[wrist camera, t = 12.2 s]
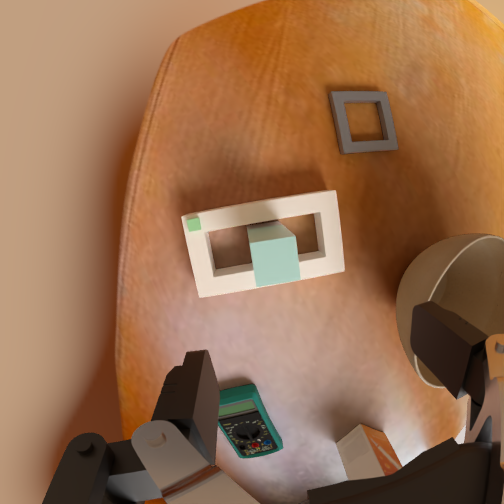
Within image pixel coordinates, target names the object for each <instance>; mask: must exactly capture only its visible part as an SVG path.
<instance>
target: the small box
mask: <svg viewBox="0 0 504 504" xmlns="http://www.w3.org/2000/svg"><path fill="white" fill-rule="evenodd" d="M336 446H337V448H338V451H339V454H340V457H341V459H342V462H343V465H344V468H345V471H346V474H347V476H348V479H349V480H358V479H366V478H374V477H381V476H387V475H391V474H393V473H395V472H396V471H398V470H399V469H401V468H402V465H401V463H400V461H399V459H398V457H397V455H396V453H395V452H394V450H393V448H392V446H391V444H390V442H389V440H388V438H387V437H386V435H385V433H383V432H380V431H377V430H375V429H372V428H370V427H367V426H365V425H363V424H359V425H358V426H357V427H355V428H354V429H353V430H352V431H351V432H349V433H348V434H347V435H346V436H344V437H343V438H342V439H341V440H340V441H338V442H337V443H336Z"/></svg>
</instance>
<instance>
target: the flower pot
mask: <svg viewBox="0 0 504 504" xmlns="http://www.w3.org/2000/svg"><path fill="white" fill-rule="evenodd" d="M428 301H433V302H435V303H436V304H437V305H439V306H440V307H442V308H443V309H446V310H449V311H452V312H454V313H456V314H457V315H459V316H460V317H462V319H465V320H466V321H468V323H471V324H472V325H473V326H475V327H476V328H478V329H479V330H481V331H482V332H483V333H485V334H486V335H488V336H489V337H490V336H492V335H495V334H504V239H503V238H501V237H499V236H495V235H490V234H464V235H458V236H454V237H450V238H447V239H444V240H441V241H439V242H437V243H435V244H433V245H431V246H430V247H428V248H427V249H425V250H424V251H423V252H421V253H420V254H419V255H418V256H417V257H416V258H415V259H414V260H413V261H412V262H411V264H410V265H409V266H408V268H407V269H406V271H405V273H404V275H403V277H402V279H401V282H400V285H399V288H398V292H397V298H396V320H397V327H398V332H399V336H400V340H401V343H402V345H403V348H404V351H405V353H406V355H407V357H408V359H409V361H410V363H411V365H412V366H413V368H414V370H415V371H416V373H417V374H418V375H419V377H420V378H421V379H422V381H424V382H425V383H426V384H427V385H429V386H432V387H435V388H446V387H445V386H444V385H443V384H442V383H441V382H440V381H439V380H438V378H437V377H436V376H435V375H434V374H433V373H432V372H431V371H430V370H429V369H428V368H427V367H426V366H425V364H424V363H423V362H422V361H421V360H420V359H419V358H418V357H417V356H416V355H415V354H414V353H413V351H412V348H411V345H410V335H411V323H412V311H413V308H414V306H415V305H418V304H421V303H424V302H428Z"/></svg>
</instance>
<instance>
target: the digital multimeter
mask: <svg viewBox="0 0 504 504" xmlns="http://www.w3.org/2000/svg"><path fill="white" fill-rule="evenodd" d="M219 392H220V402H219V415H218V426H219V427H220V429H221V430H222V431H223V433H224V434H225V436H226V437H227V439H228V440H229V442H230V443H231V445H232V447H233V448H234V450H235V451H236V453H237V455H238V456H239V457H240V458H253V457H260V456H264V455H268V454H271V453H274V452H277V451H279V450H281V449H283V443H282V439H281V437H280V436H279V434H278V433H277V431H276V429H275V427H274V426H273V424H272V422H271V420H270V418H269V416H268V414H267V412H266V410H265V408H264V405H263V403H262V400H261V398H260V395H259V393H258V390H257V388H256V386H255V385H254V384H250V385H245V386H239V387H234V388H230V389H226V390H222V391H219ZM263 420H264V421H263ZM272 437H273V438H272Z"/></svg>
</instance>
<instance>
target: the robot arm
mask: <svg viewBox="0 0 504 504" xmlns="http://www.w3.org/2000/svg"><path fill="white" fill-rule="evenodd" d="M410 345H411V348H412V351H413V353H414V354H415V355H416V356H417V357H418V358H419V359H420V360H421V361H422V362H423V363H424V364H425V366H426V367H427V368H428V369H429V370H430V371H431V372H432V373H433V374H434V375H435V376H436V377H437V378H438V380H439V381H440V382H441V383H442V384H443V385H444V386H445V387H446V388H447V389H448V391H449V392H450V393H451V394H452V395H453V396H454V397H455V398H456V399H459V398H461V397H463V396H464V395H466V394H468V395H469V396H470V397H469V399H468V403H467V420H466V433H465V440H464V443H463V444H459V445H458V444H457V443H456V441H455V440H454V438H453V437H452V438H450V439H448V440H446V441H444V442H442V443H441V444H439V445H437V446H435V447H433V448H431V449H429V450H427V451H424V452H422V453H421V454H420V455H419V456H417V457H416V458H415V459H413V460H412V461H410V462H409V463H408V464H406V465H405V466H403V467H402V468H401V469H399V470H398V471H396V472H395V473H393V474H391V475H387V476H381V477H374V478H366V479H358V480H348V481H344V482H341V483H337V484H333V485H329V486H325V487H321V488H316V489H312V490H307V494H308V500H306V501H304V502H301V503H299V504H504V334H495V335H492V336H490V337H489V336H488V335H486V334H485V333H483V332H482V331H481V330H479V329H478V328H476V327H475V326H473V325H472V324H471V323H468V321H466V320H465V319H462V317H460V316H459V315H457V314H456V313H454V312H452V311H449V310H446V309H443V308H442V307H440V306H439V305H437V304H436V303H435V302H433V301H428V302H424V303H421V304H418V305H415V306H414V308H413V311H412V323H411V335H410ZM163 385H164V386H163V387H162V390H161V394H160V396H159V399H158V401H157V404H156V407H155V410H154V413H153V416H152V419H151V422H147V423H145V424H143V425H141V426H140V427H139V428H137V429H136V431H135V432H134V433H133V435H132V439H129V440H125V441H120V442H114V443H108V444H107V442H106V441H105V440H104V438H103V437H102V436H100V435H99V434H96V433H84V434H81V435H79V436H77V437H75V438H74V439H73V440H71V442H70V443H69V444H68V446H67V448H66V450H65V452H64V454H63V457H62V459H61V461H60V463H59V466H58V468H57V470H56V472H55V474H54V477H53V479H52V481H51V484H50V486H49V488H48V491H47V493H46V496H45V498H44V500H43V503H42V504H144V503H145V500H151V499H156V498H162V497H163V498H164V500H165V501H166V503H167V504H260V503H259V502H258V501H256V500H255V499H254V498H253V497H252V496H250V495H249V494H248V493H247V492H246V491H245V490H243V489H242V488H241V487H240V486H239V485H238V484H237V483H236V482H234V481H233V480H232V479H231V478H230V477H229V476H228V475H227V474H226V473H225V472H224V471H223V470H221V469H220V468H219V467H218V466H211V465H215V456H216V442H217V428H218V415H219V402H220V392H219V385H218V381H217V378H216V375H215V372H214V368H213V365H212V362H211V358H210V355H209V352H208V350H199V351H190V352H187V353H186V355H185V359H184V362H183V365H182V366H175V367H174V368H173V369H172V370H171V371H170V372H169V373H168V374H167V376H166V379H165V381H164V384H163Z"/></svg>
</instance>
